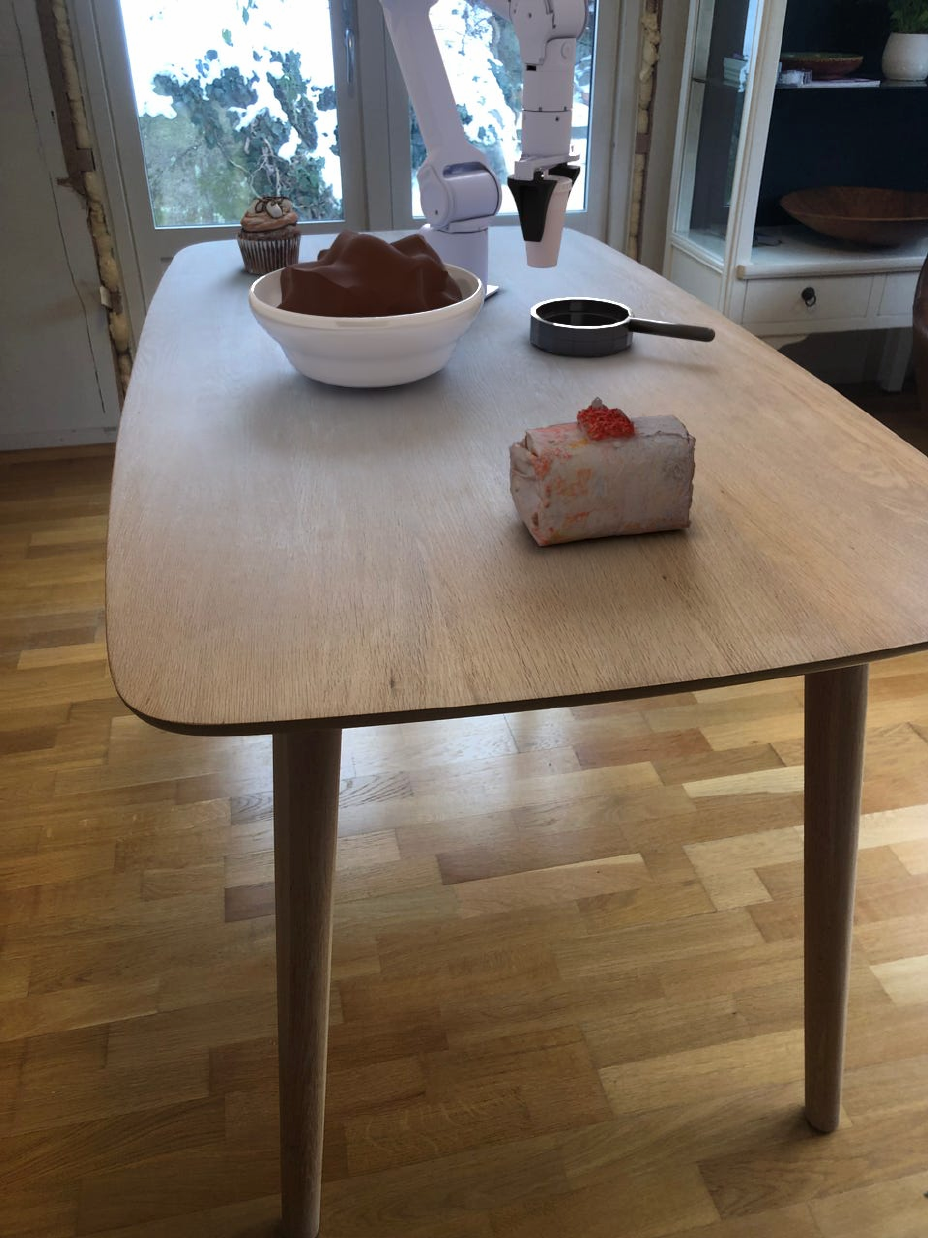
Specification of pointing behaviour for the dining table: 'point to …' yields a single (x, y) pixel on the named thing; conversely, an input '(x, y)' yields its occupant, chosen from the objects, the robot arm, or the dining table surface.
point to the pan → (581, 326)
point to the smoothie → (550, 226)
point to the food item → (603, 476)
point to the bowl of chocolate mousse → (368, 311)
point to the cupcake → (269, 235)
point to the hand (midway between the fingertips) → (542, 235)
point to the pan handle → (671, 330)
